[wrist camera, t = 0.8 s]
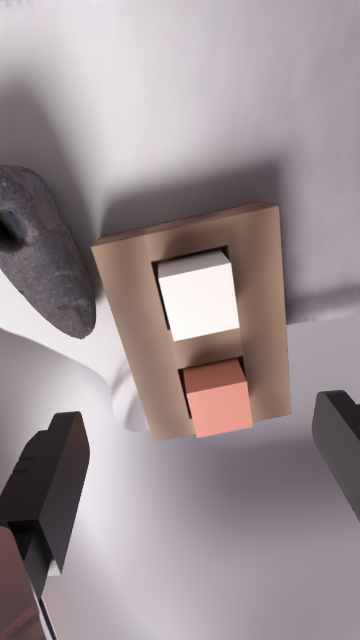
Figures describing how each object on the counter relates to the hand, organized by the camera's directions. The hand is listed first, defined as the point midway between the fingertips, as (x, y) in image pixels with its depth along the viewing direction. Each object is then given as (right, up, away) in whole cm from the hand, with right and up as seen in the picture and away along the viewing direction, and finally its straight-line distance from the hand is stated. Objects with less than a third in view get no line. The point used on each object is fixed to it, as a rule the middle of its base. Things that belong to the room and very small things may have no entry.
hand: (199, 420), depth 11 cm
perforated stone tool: (-11, +10, +16) cm, 22 cm away
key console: (+1, +3, +20) cm, 20 cm away
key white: (0, +6, +15) cm, 16 cm away
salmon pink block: (+2, -3, +19) cm, 20 cm away
